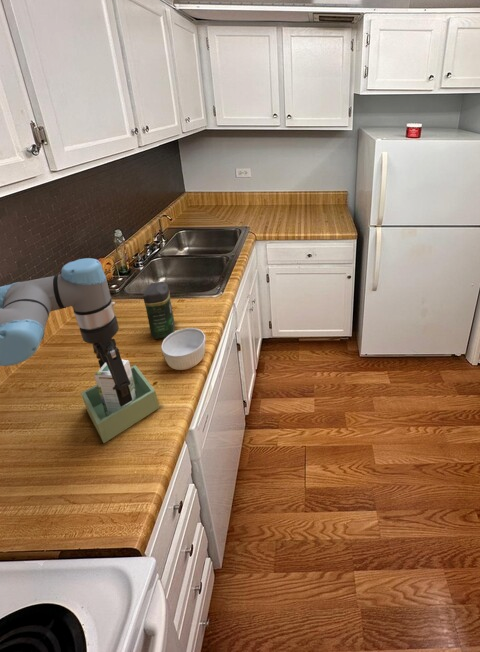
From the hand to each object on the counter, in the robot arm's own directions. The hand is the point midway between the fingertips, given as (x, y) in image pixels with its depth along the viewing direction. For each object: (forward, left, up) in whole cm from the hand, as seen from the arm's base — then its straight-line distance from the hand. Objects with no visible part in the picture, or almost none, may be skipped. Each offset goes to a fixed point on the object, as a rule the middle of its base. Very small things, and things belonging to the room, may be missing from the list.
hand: (117, 389), depth 87 cm
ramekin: (+21, +5, -7) cm, 23 cm away
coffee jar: (+22, +24, -7) cm, 33 cm away
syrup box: (0, 0, -7) cm, 7 cm away
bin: (0, 0, -7) cm, 7 cm away
